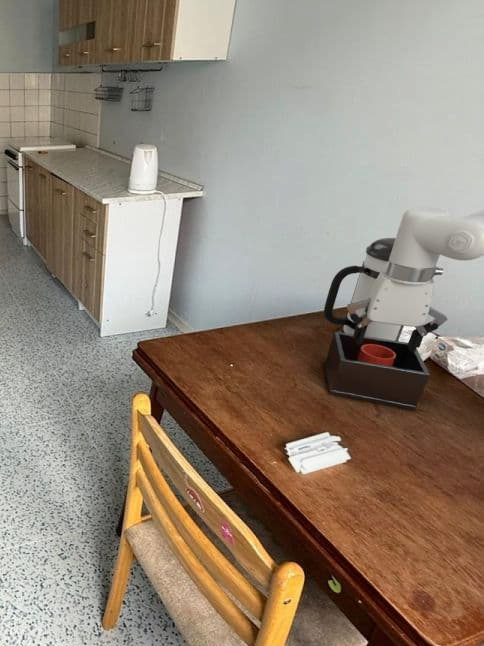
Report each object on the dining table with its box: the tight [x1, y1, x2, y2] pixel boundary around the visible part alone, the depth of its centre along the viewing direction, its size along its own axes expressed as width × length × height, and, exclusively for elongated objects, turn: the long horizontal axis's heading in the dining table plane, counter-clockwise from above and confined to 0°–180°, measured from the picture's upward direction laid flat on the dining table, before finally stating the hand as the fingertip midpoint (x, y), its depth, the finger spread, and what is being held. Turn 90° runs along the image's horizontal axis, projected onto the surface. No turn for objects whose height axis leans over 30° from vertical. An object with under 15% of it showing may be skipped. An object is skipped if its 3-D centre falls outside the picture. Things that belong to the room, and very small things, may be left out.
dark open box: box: [324, 331, 431, 411], centre depth 106 cm, size 16×14×9 cm
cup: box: [356, 344, 396, 367], centre depth 105 cm, size 6×6×8 cm
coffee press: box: [323, 237, 405, 341], centre depth 118 cm, size 17×16×30 cm
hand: (383, 345), depth 102 cm, fingers open, 9 cm apart
